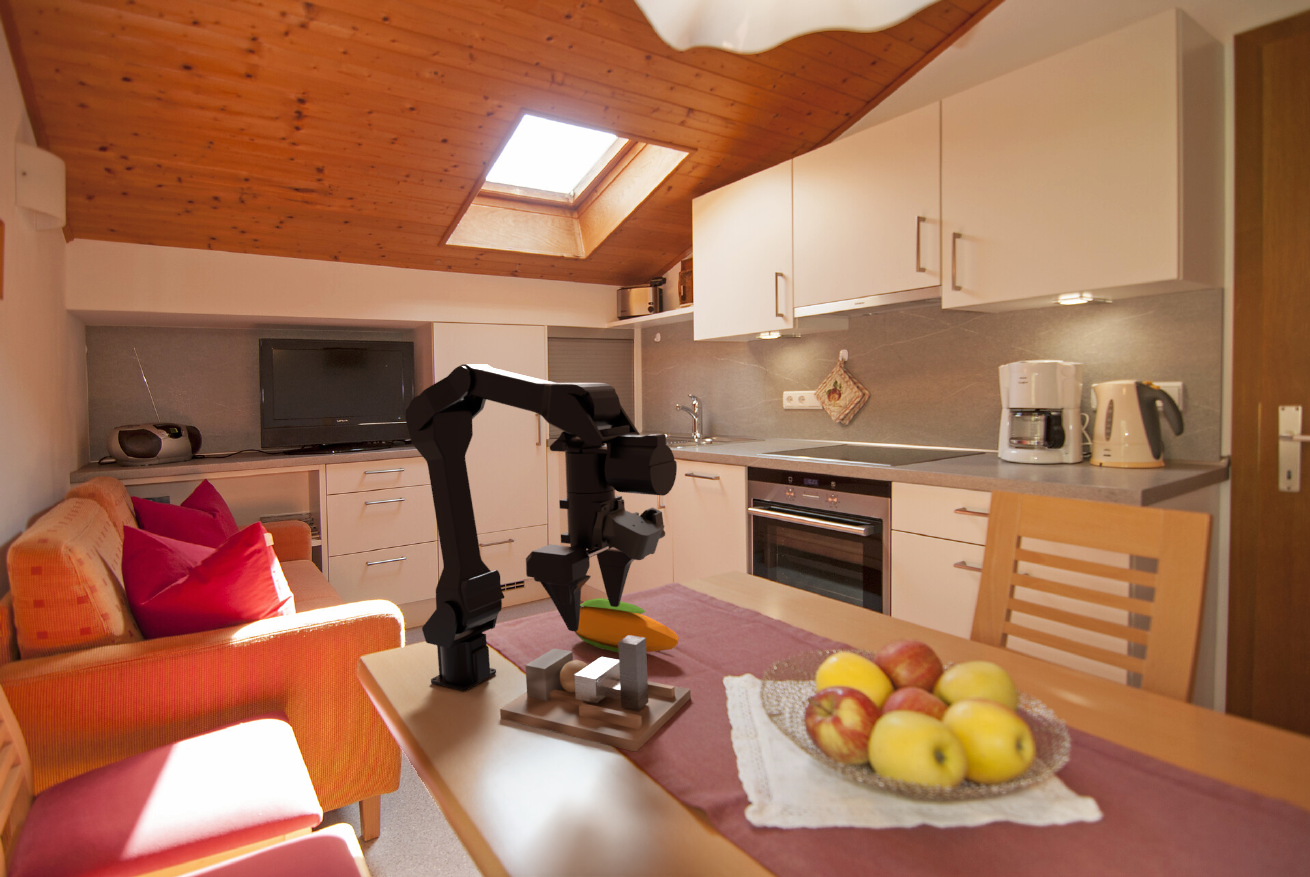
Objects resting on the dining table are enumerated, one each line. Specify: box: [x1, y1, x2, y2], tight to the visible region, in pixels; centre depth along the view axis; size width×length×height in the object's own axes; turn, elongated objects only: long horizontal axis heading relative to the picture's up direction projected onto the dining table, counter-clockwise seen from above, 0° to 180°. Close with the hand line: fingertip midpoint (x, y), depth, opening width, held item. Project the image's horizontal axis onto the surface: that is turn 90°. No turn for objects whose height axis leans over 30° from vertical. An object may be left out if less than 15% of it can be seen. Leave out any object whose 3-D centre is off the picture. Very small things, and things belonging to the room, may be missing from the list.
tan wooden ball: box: [560, 659, 589, 693], centre depth 88 cm, size 4×4×4 cm
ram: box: [575, 635, 649, 711], centre depth 85 cm, size 8×6×8 cm
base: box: [499, 647, 692, 752], centre depth 87 cm, size 19×14×5 cm
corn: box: [574, 597, 680, 654], centre depth 106 cm, size 7×8×20 cm
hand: (595, 617), depth 84 cm, fingers open, 9 cm apart
